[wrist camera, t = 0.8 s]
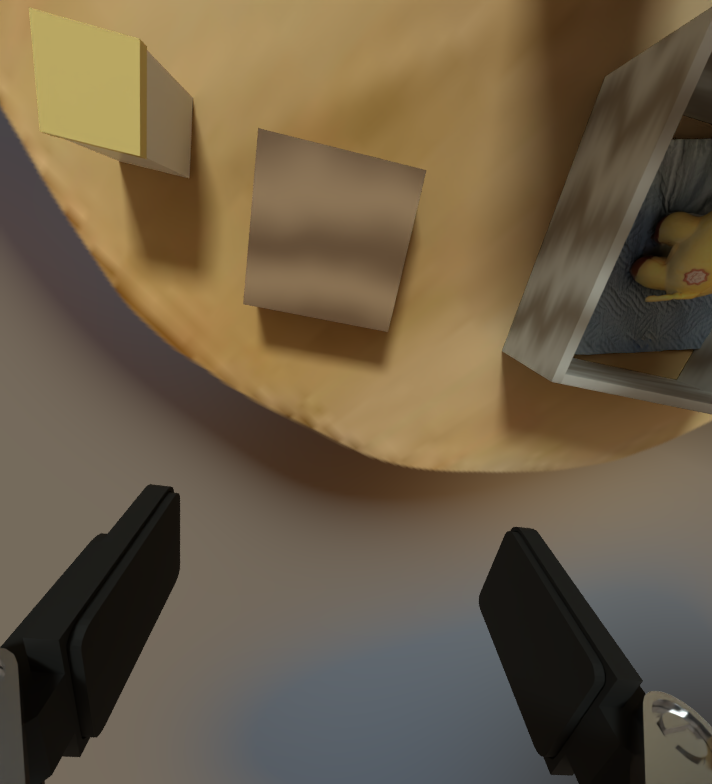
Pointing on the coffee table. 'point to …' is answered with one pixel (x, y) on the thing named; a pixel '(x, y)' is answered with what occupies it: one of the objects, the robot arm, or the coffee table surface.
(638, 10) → the coffee table surface
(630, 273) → the stuffed giraffe
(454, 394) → the coffee table surface
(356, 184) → the walnut box
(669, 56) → the grey crate
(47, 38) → the tea tin
